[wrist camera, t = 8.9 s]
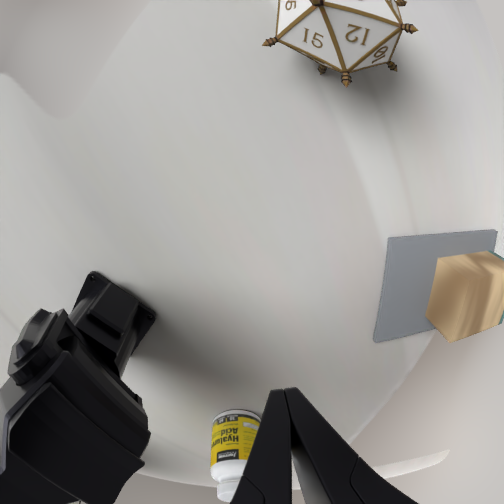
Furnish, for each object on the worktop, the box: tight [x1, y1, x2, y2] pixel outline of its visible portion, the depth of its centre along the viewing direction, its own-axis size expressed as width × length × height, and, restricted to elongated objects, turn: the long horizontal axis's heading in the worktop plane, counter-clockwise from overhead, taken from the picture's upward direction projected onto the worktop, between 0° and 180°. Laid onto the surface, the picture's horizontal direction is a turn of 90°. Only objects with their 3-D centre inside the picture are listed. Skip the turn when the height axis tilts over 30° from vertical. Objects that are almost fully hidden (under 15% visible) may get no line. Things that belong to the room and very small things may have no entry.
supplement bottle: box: [210, 410, 261, 502], centre depth 23 cm, size 5×5×10 cm
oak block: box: [425, 250, 504, 343], centre depth 20 cm, size 4×6×8 cm
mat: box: [373, 229, 497, 343], centre depth 22 cm, size 14×10×1 cm
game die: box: [262, 0, 418, 88], centre depth 11 cm, size 9×8×10 cm
